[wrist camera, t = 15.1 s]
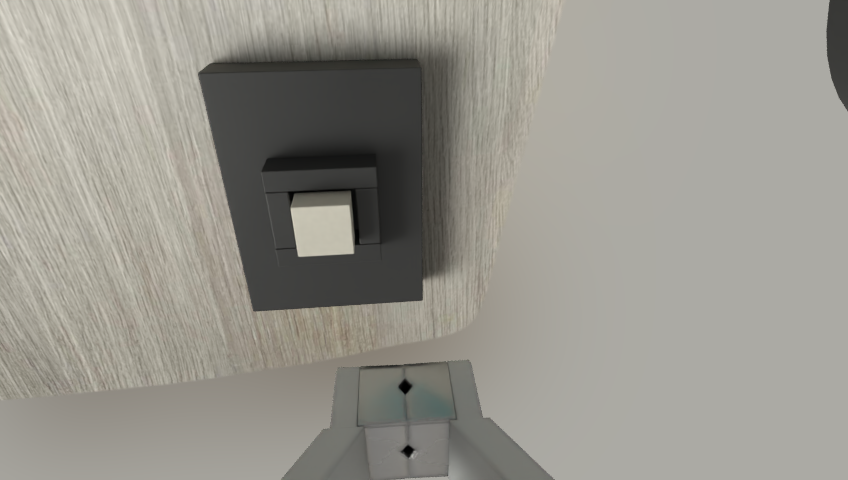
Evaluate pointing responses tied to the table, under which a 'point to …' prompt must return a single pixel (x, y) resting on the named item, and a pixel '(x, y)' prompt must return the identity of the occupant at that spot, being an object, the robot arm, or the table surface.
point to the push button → (323, 223)
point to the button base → (322, 174)
